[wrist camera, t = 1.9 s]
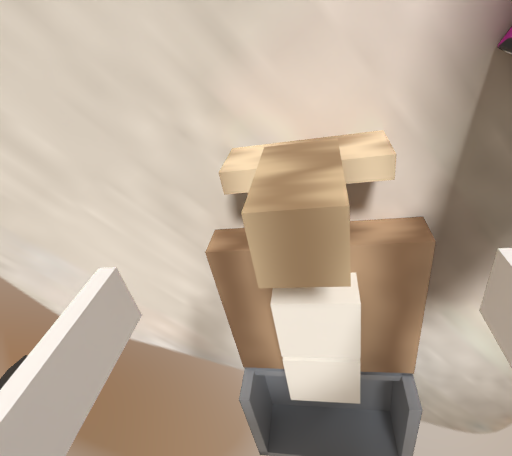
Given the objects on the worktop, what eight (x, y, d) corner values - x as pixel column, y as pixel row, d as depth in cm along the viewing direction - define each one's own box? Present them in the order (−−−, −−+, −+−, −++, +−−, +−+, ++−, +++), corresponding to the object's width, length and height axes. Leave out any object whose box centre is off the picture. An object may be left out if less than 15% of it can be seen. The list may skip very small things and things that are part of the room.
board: (423, 216, 23) (435, 241, 21) (406, 344, 31) (413, 373, 29) (215, 229, 27) (205, 252, 24) (248, 342, 35) (243, 367, 32)
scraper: (384, 110, 20) (442, 198, 11) (381, 169, 22) (427, 285, 13) (228, 131, 22) (169, 218, 13) (240, 183, 24) (196, 289, 15)
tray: (405, 348, 32) (422, 410, 27) (397, 409, 38) (409, 469, 33) (249, 345, 35) (239, 399, 30) (266, 402, 42) (260, 454, 37)
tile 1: (356, 330, 27) (360, 362, 24) (356, 371, 30) (360, 403, 28) (285, 329, 28) (282, 360, 26) (292, 369, 31) (290, 399, 29)
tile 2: (355, 272, 23) (360, 303, 21) (356, 326, 27) (360, 358, 24) (274, 274, 25) (270, 304, 22) (284, 325, 28) (281, 356, 25)
